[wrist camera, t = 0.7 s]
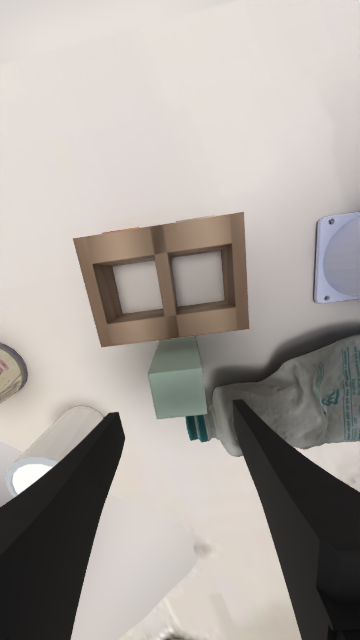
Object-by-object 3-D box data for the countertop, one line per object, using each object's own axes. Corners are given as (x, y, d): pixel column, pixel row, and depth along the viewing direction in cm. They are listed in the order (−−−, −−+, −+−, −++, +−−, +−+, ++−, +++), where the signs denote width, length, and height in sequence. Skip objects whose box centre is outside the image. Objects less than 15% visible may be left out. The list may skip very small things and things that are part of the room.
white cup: (97, 453, 24) (63, 524, 17) (49, 431, 23) (-6, 496, 16) (119, 416, 22) (92, 478, 16) (68, 392, 22) (16, 445, 15)
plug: (195, 336, 20) (202, 367, 13) (199, 368, 21) (207, 413, 14) (159, 340, 20) (147, 374, 13) (165, 372, 21) (156, 419, 14)
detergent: (409, 310, 19) (174, 349, 20) (542, 339, 12) (174, 396, 13) (384, 407, 23) (192, 436, 24) (472, 470, 16) (199, 506, 17)
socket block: (229, 223, 17) (243, 207, 13) (235, 317, 19) (249, 328, 15) (96, 243, 17) (71, 234, 14) (117, 333, 20) (101, 347, 16)
